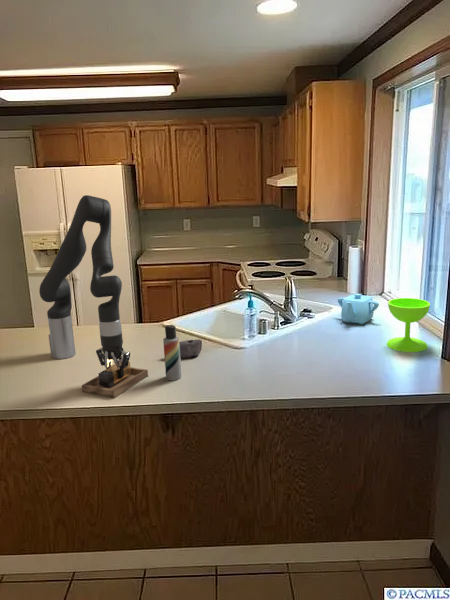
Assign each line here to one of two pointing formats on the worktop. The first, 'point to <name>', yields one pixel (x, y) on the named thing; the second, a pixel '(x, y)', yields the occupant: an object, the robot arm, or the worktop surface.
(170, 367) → the lotion bottle
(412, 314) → the wineglass
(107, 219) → the robot arm
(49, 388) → the worktop surface
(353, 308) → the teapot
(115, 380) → the battery cell
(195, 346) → the perforated stone tool
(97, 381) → the brown wooden tray
